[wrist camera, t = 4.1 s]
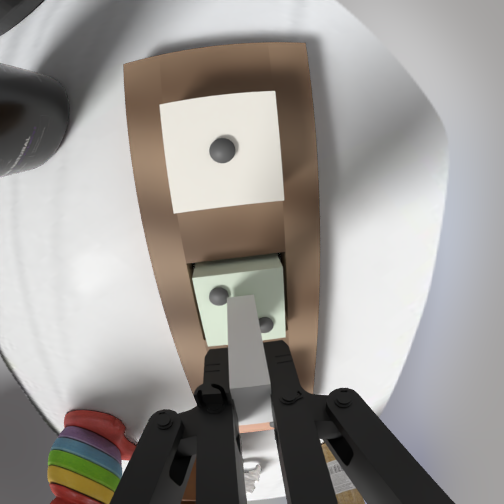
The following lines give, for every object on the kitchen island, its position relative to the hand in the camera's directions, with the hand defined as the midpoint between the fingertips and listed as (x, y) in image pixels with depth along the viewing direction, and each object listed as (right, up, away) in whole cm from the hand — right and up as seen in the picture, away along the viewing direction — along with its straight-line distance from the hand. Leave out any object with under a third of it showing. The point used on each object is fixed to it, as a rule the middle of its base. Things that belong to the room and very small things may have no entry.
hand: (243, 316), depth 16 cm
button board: (0, +1, +3) cm, 4 cm away
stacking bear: (-19, -19, +10) cm, 29 cm away
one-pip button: (-1, +9, -2) cm, 9 cm away
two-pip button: (0, +1, +3) cm, 4 cm away
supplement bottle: (-15, +13, -2) cm, 20 cm away
